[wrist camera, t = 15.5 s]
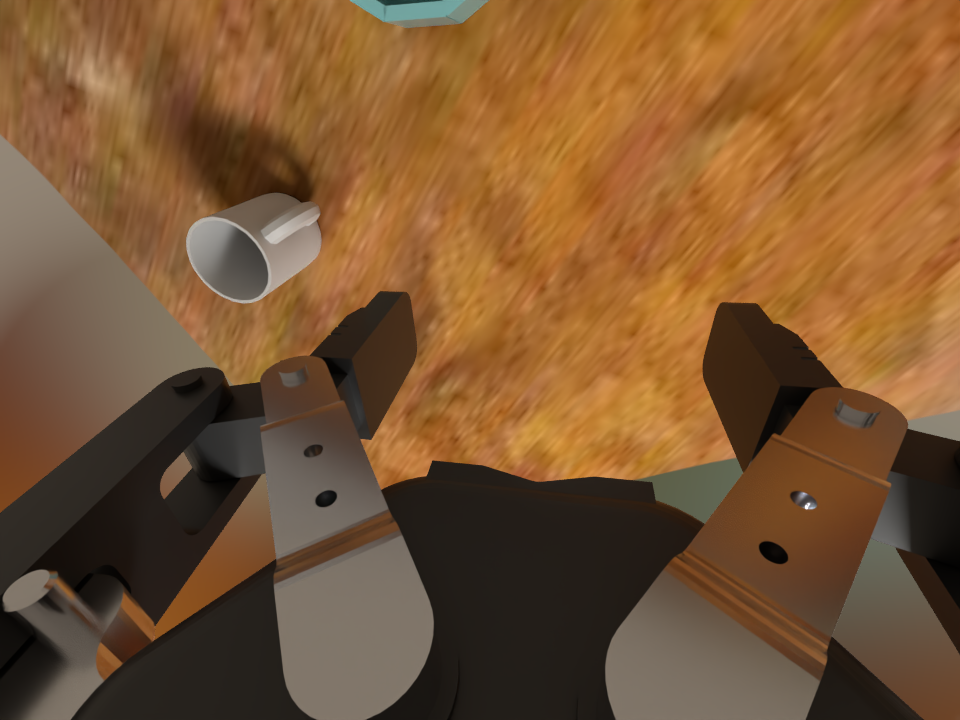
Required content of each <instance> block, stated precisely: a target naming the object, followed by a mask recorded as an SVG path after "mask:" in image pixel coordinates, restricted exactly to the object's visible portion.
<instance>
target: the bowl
mask: <svg viewBox="0 0 960 720" xmlns="http://www.w3.org/2000/svg"><path fill="white" fill-rule="evenodd" d="M350 1H352V2H353V3H355V4H356V5H358V6H360V7H361V8H363V9H364V10H366V11H368V12H369V13H371V14H372V15H374V16H376V17H377V18H379V19H380V20H382V21H384V22H387V23H391V24H394V25H398V26H401V27H405V28H413V27H425V26H438V25H450V24H461V23H463V22H464V21H465V20H467V19H468V18H469V17H470V16H471V15H472V14H474V13H475V12H476V11H477V10H478V9H479V8H481V7H482V6H483V5H484V4H485V3H486V2H488V1H489V0H350Z"/></svg>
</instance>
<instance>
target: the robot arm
mask: <svg viewBox="0 0 960 720" xmlns="http://www.w3.org/2000/svg"><path fill="white" fill-rule="evenodd" d="M808 348H809V347H808V346H807V345H806V344H805V343H804V342H803V340H802V339H801V338H800V337H799V336H798V335H797V334H795V333H794V332H792V331H790V330H788V329H787V328H785V327H783V326H782V325H780V324H773V323H772V321H771V320H770V319H769V318H768V316H767V315H766V314H765V313H764V311H763V310H762V309H761V308H760V306H759V305H758V304H756V303H728V302H722V303H721V304H720V305H719V306H718V308H717V311H716V314H715V318H714V321H713V325H712V329H711V332H710V336H709V340H708V344H707V347H706V351H705V355H704V359H703V378H704V382H705V384H706V386H707V389H708V391H709V393H710V396H711V398H712V400H713V403H714V405H715V408H716V410H717V412H718V415H719V417H720V419H721V422H722V424H723V426H724V429H725V431H726V433H727V436H728V438H729V440H730V443H731V445H732V447H733V450H734V452H735V454H736V457H737V459H738V461H739V464H740V466H741V468H742V471H743V474H742V476H741V477H740V478H739V480H738V481H737V482H736V484H735V485H734V486H733V488H732V489H731V490H730V491H729V493H728V494H727V496H726V497H725V498H724V499H723V501H722V502H721V504H720V505H719V506H718V507H717V509H716V510H715V511H714V513H713V514H712V515H711V517H710V518H709V519H708V521H707V522H706V523H705V524H704V523H702V522H701V521H699V520H697V519H696V518H694V517H693V516H691V515H689V514H687V513H685V512H683V511H681V510H679V509H677V508H675V507H672V506H670V505H667V504H664V503H662V502H659V501H656V500H655V494H654V490H653V484H652V482H643V481H633V480H623V479H613V478H603V477H586V478H576V479H566V480H556V481H545V482H535V481H531V480H527V479H524V478H521V477H518V476H515V475H511V474H508V473H505V472H502V471H499V470H496V469H492V468H489V467H486V466H482V465H472V464H462V463H452V462H442V461H432V463H431V466H430V469H429V472H428V474H427V476H425V477H418V478H413V479H408V480H405V481H402V482H399V483H396V484H393V485H391V486H388V487H386V488H384V489H382V490H381V489H380V487H379V484H378V482H377V479H376V477H375V474H374V472H373V470H372V467H371V465H370V462H369V460H368V457H367V455H366V453H365V450H364V448H363V445H362V443H361V440H360V439H369V440H372V438H373V436H374V434H375V432H376V430H377V429H378V427H379V425H380V423H381V421H382V420H383V418H384V416H385V414H386V412H387V411H388V409H389V407H390V405H391V403H392V402H393V400H394V398H395V396H396V394H397V393H398V391H399V389H400V387H401V385H402V384H403V382H404V380H405V378H406V376H407V375H408V373H409V371H410V369H411V367H412V366H413V364H414V362H415V358H416V353H417V341H416V334H415V327H414V320H413V313H412V306H411V300H410V297H409V294H408V293H407V292H388V291H380V292H379V293H378V294H377V295H376V296H375V297H374V298H373V299H372V300H371V302H370V303H369V304H368V305H367V306H366V307H365V308H360V309H358V310H357V311H355V312H353V313H351V314H349V315H347V316H346V317H345V318H344V320H343V321H342V322H341V323H340V324H339V325H338V327H336V328H335V329H334V330H333V331H332V332H331V335H328V337H327V338H326V339H325V340H324V341H323V342H322V343H321V344H320V345H319V346H318V347H317V348H316V349H315V350H314V351H313V352H312V354H311V355H310V356H298V357H293V358H289V359H286V360H283V361H280V362H278V363H276V364H274V365H273V366H271V367H270V368H268V369H267V370H266V371H265V372H264V373H263V374H262V376H261V379H260V382H258V383H250V384H242V385H235V386H229V385H228V382H227V380H226V378H225V375H224V373H223V372H222V371H221V370H219V369H217V368H210V367H209V368H208V367H206V368H197V369H192V370H188V371H185V372H182V373H180V374H177V375H174V376H172V377H170V378H168V379H167V380H165V381H164V382H162V383H161V384H160V385H158V386H157V387H156V388H154V389H153V390H152V391H151V392H149V393H148V394H147V395H146V396H145V397H143V398H142V399H141V400H140V401H138V402H137V403H136V404H135V405H134V406H132V407H131V408H130V409H128V410H127V411H126V412H125V413H123V414H122V415H121V416H120V417H118V418H117V419H116V420H115V421H114V422H112V423H111V424H110V425H109V426H107V427H106V428H105V429H104V430H102V431H101V432H100V433H99V434H97V435H96V436H95V437H94V438H92V439H91V440H90V441H89V442H87V443H86V444H85V445H84V446H83V447H81V448H80V449H79V450H78V451H76V452H75V453H74V454H73V455H71V456H70V457H69V458H68V459H66V460H65V461H64V462H63V463H61V464H60V465H59V466H58V467H57V468H55V469H54V470H53V471H52V472H50V473H49V474H48V475H47V476H45V477H44V478H43V479H42V480H40V481H39V482H38V483H37V484H35V485H34V486H33V487H32V488H31V489H29V490H28V491H27V492H25V493H24V494H23V495H22V496H20V497H19V498H18V499H17V500H16V501H14V502H13V503H12V504H11V505H9V506H8V507H7V508H6V509H4V510H3V511H2V512H1V513H0V720H924V719H922V718H921V717H920V716H919V715H918V714H917V713H916V712H915V711H914V710H912V709H911V708H910V707H909V706H908V705H907V704H906V703H905V702H904V701H902V700H901V699H900V698H899V697H898V696H897V695H896V694H895V693H894V692H893V691H891V690H890V689H889V688H888V687H887V686H886V685H885V684H884V683H882V681H880V680H879V679H878V678H877V677H876V676H875V675H874V674H873V673H872V672H870V671H869V670H868V669H867V668H866V667H865V666H864V665H863V664H861V662H859V661H858V660H857V659H856V658H855V657H854V656H853V655H852V654H851V653H849V652H848V651H847V650H846V649H845V648H844V647H843V646H842V645H841V644H840V643H838V642H837V641H836V640H835V639H834V638H833V637H832V634H833V632H834V629H835V627H836V624H837V622H838V619H839V617H840V614H841V611H842V609H843V607H844V604H845V601H846V599H847V596H848V594H849V591H850V589H851V586H852V584H853V581H854V579H855V576H856V574H857V571H858V569H859V566H860V564H861V561H862V558H863V556H864V553H865V551H866V548H867V546H868V543H869V541H870V539H873V540H876V541H879V542H882V543H885V544H888V545H891V546H894V547H896V550H897V551H898V553H899V555H900V557H901V558H902V560H903V562H904V563H905V565H906V567H907V568H908V570H909V571H910V573H911V575H912V576H913V578H914V580H915V581H916V583H917V585H918V586H919V588H920V590H921V591H922V593H923V595H924V596H925V598H926V599H927V601H928V603H929V604H930V606H931V608H932V609H933V611H934V613H935V614H936V616H937V618H938V619H939V621H940V623H941V624H942V626H943V628H944V629H945V631H946V632H947V634H948V636H949V637H950V639H951V641H952V642H953V644H954V646H955V647H956V649H957V651H958V652H959V654H960V441H956V440H951V439H947V438H943V437H939V436H934V435H931V434H926V433H922V432H918V431H914V430H910V429H907V428H908V423H907V420H906V418H905V417H904V415H903V414H902V413H901V412H900V411H899V410H897V409H896V408H895V407H893V406H892V405H890V404H889V403H887V402H885V401H884V400H882V399H879V398H877V397H875V396H873V395H870V394H867V393H864V392H861V391H857V390H853V389H848V388H843V387H842V386H841V384H840V383H839V382H838V381H837V380H836V379H835V378H834V376H833V375H832V374H831V373H830V372H829V371H828V369H827V368H826V367H825V366H824V365H823V364H822V362H821V361H820V360H817V357H816V355H815V354H814V353H813V352H812V351H811V350H808ZM182 452H184V453H185V455H186V457H187V459H188V461H189V462H190V464H191V466H192V469H191V470H190V471H189V472H188V474H187V475H186V476H185V477H184V478H183V479H182V480H181V481H180V482H179V484H178V485H177V486H176V487H175V488H174V489H173V490H172V491H171V493H170V494H169V495H168V496H167V497H166V498H165V499H163V497H162V495H161V493H160V481H161V478H162V476H163V474H164V472H165V470H166V469H167V468H168V467H169V466H170V465H171V464H172V463H173V462H174V461H175V459H177V457H178V456H179V455H180V454H181V453H182ZM264 473H266V479H267V487H268V495H269V503H270V510H271V519H272V527H273V535H274V543H275V551H276V559H275V560H274V561H272V562H271V563H269V564H268V565H266V566H265V567H263V568H262V569H260V570H259V571H258V572H256V573H254V574H253V575H252V576H250V577H249V578H247V579H245V580H244V581H242V582H241V583H240V584H238V585H236V586H235V587H233V588H232V589H230V590H229V591H227V592H226V593H225V594H223V595H222V596H220V597H219V598H217V599H215V600H214V601H212V602H211V603H210V604H208V605H206V606H205V607H203V608H202V609H201V610H199V611H198V612H196V613H195V614H193V615H192V616H190V617H189V618H187V619H186V620H184V621H183V622H181V623H180V624H178V625H177V626H175V627H174V628H172V629H171V630H169V631H168V632H167V633H165V634H163V635H162V636H160V637H159V638H157V639H156V640H154V636H155V626H156V624H157V623H158V621H159V620H160V618H161V617H162V616H163V614H164V613H165V611H166V610H167V608H168V607H169V606H170V604H171V603H172V601H173V600H174V598H175V597H176V596H177V594H178V593H179V591H180V590H181V588H182V587H183V586H184V584H185V583H186V582H187V580H188V578H189V577H190V576H191V574H192V573H193V571H194V570H195V568H196V567H197V566H198V564H199V563H200V562H201V560H202V559H203V557H204V556H205V554H206V553H207V552H208V550H209V549H210V547H211V546H212V545H213V543H214V542H215V540H216V539H217V537H218V536H219V535H220V533H221V532H222V530H223V529H224V527H225V526H226V525H227V523H228V522H229V520H230V519H231V517H232V516H233V514H234V513H235V512H236V510H237V509H238V507H239V506H240V505H241V503H242V502H243V500H244V499H245V498H246V496H247V495H248V493H249V492H250V490H251V489H252V488H253V486H254V485H255V483H256V482H257V480H258V479H259V477H260V476H261V474H264ZM153 640H154V641H153Z"/></svg>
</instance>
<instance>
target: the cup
mask: <svg viewBox="0 0 960 720" xmlns="http://www.w3.org/2000/svg"><path fill="white" fill-rule="evenodd" d="M320 214H321V213H320V209H319V206H318V205H317V204H315V203H314V202H312V201H310V202H303V203H301V202H300V201H298V200H297V199H296V198H294V197H291V196H289V195H287V194H282V193H269V194H265V195H261V196H259V197H256V198H254V199H251V200H249V201H246V202H243V203H241V204H238V205H236V206H233V207H230V208H228V209H225V210H223V211H220V212H217V213H215V214H212V215H210V216H207V217H205V218H202V219H200V220H199V221H197V222H195V223H194V224H193V225H192V227H191V228H190V229H189V232H188V235H187V239H186V244H187V253H188V256H189V260H190V262H191V264H192V266H193V268H194V270H195V272H196V273H197V274H198V276H199V277H200V278H201V280H202V281H203V282H204V283H205V284H206V285H207V286H208V287H209V288H210V289H212V290H213V291H214V292H216V293H217V294H219V295H220V296H222V297H224V298H226V299H229V300H231V301H234V302H239V303H253V302H255V301H258V300H260V299H262V298H263V297H265V296H266V295H267V294H269V293H270V292H271V291H273V290H274V289H276V288H277V287H278V286H280V285H281V284H283V283H284V282H285V281H287V280H288V279H290V278H291V277H292V276H294V275H295V274H297V273H298V272H299V271H301V270H302V269H304V268H305V267H306V266H308V265H309V264H310V263H311V262H312V261H313V260H314V259H315V258H316V257H317V255H318V253H319V251H320V248H321V232H320V229H319V226H318V223H317V221H316V220H317V219H318V217H319V215H320Z"/></svg>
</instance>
